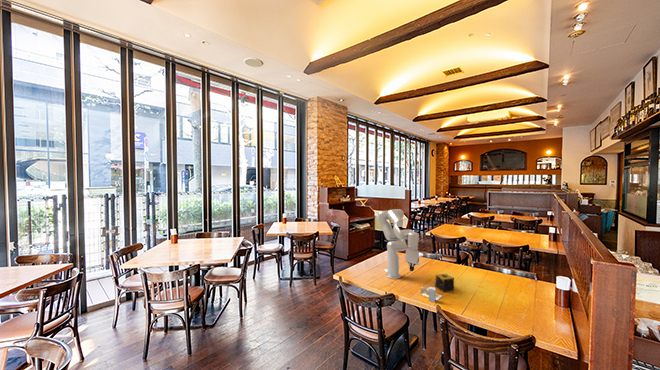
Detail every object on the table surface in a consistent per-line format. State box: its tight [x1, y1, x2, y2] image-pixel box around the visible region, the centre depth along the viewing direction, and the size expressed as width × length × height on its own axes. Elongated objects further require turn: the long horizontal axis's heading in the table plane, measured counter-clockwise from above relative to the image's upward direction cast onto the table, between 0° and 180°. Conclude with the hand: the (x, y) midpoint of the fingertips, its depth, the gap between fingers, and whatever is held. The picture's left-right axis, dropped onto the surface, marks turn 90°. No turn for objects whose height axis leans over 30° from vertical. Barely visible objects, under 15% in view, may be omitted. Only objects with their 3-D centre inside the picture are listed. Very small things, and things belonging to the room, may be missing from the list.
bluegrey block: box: [428, 286, 437, 303], centre depth 185 cm, size 4×4×9 cm
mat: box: [421, 293, 443, 301], centre depth 192 cm, size 12×9×1 cm
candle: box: [434, 273, 455, 293], centre depth 204 cm, size 10×10×10 cm
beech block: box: [420, 285, 429, 295], centre depth 194 cm, size 4×4×9 cm
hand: (411, 270), depth 204 cm, fingers closed
